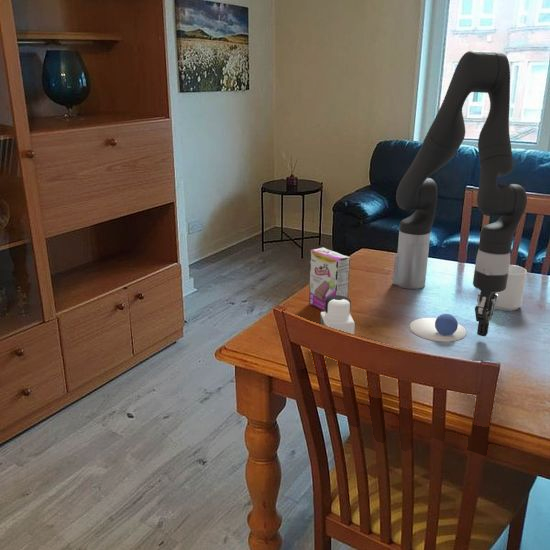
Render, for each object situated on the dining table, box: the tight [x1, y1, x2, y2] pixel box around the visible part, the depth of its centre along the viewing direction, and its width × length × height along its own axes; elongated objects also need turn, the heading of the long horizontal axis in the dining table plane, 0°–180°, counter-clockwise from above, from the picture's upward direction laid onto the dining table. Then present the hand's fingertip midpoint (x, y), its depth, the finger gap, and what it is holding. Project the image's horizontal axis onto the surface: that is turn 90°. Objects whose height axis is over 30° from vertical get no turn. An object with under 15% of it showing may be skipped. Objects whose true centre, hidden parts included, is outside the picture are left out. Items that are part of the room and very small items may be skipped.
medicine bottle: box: [319, 295, 356, 335], centre depth 134 cm, size 7×7×12 cm
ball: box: [435, 313, 459, 336], centre depth 141 cm, size 6×6×6 cm
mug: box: [495, 264, 528, 312], centre depth 159 cm, size 12×9×11 cm
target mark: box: [409, 317, 467, 343], centre depth 144 cm, size 14×14×1 cm
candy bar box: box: [308, 246, 351, 312], centre depth 154 cm, size 11×5×16 cm, turn 37°
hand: (482, 334), depth 138 cm, fingers closed
